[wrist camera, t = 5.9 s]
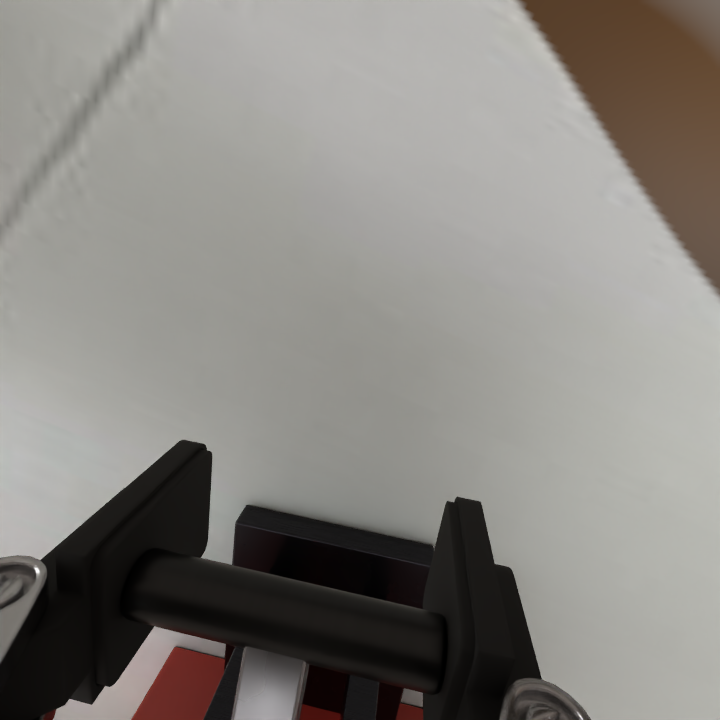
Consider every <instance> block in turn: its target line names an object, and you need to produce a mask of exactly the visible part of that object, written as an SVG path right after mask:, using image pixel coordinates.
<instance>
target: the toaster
mask: <svg viewBox="0 0 720 720" xmlns="http://www.w3.org/2000/svg"><path fill="white" fill-rule="evenodd" d="M224 663H225V659H222V658H219V657H215V656H211V655H207V654H203V653H199V652H195V651H191V650H187V649H183V648H179V647H174V649H173V650H172V652H171V654H170V655H169V657H168V659H167V660H166V662H165V664H164V665H163V667H162V669H161V670H160V672H159V674H158V676H157V677H156V679H155V681H154V682H153V684H152V686H151V687H150V689H149V691H148V692H147V694H146V696H145V698H144V699H143V701H142V703H141V704H140V706H139V708H138V709H137V711H136V713H135V714H134V716H133V718H132V719H131V720H203V718H204V716H205V714H206V712H207V709H208V707H209V705H210V703H211V700H212V698H213V696H214V694H215V691H216V689H217V687H218V685H219V682H220V680H221V678H222V676H223V673H224ZM339 719H340V714H339V713H335V712H331V711H327V710H323V709H319V708H315V707H312V706H308V705H304V704H302V708H301V714H300V719H299V720H339ZM396 720H423V709H422V708H418V707H414V706H410V705H406V704H402V703H400V705H399V709H398V713H397V717H396Z"/></svg>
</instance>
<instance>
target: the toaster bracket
mask: <svg viewBox="0 0 720 720" xmlns="http://www.w3.org/2000/svg"><path fill="white" fill-rule="evenodd" d="M433 554H434V547H433V546H432V545H428V544H423V543H418V542H414V541H409V540H405V539H400V538H396V537H391V536H386V535H382V534H377V533H373V532H368V531H364V530H359V529H355V528H350V527H345V526H341V525H336V524H332V523H327V522H323V521H318V520H314V519H309V518H304V517H300V516H295V515H291V514H286V513H282V512H277V511H273V510H268V509H263V508H259V507H254V506H250V505H246V507H245V508H244V510H243V511H242V513H241V514H240V516H239V518H238V519H237V521H236V523H235V536H234V549H233V561H232V565H233V566H238V567H242V568H246V569H251V570H255V571H259V572H264V573H268V574H272V575H277V576H281V577H285V578H289V579H294V580H298V581H302V582H307V583H311V584H315V585H320V586H324V587H328V588H333V589H337V590H341V591H346V592H350V593H354V594H358V595H363V596H367V597H371V598H376V599H380V600H384V601H389V602H393V603H397V604H402V605H406V606H410V607H414V608H419V609H423V598H424V591H425V586H426V582H427V578H428V574H429V570H430V566H431V562H432V558H433ZM243 651H244V648H240V647H236V646H232V645H228V644H226V651H225V663H224V673H223V676H222V678H221V680H220V682H219V685H218V687H217V689H216V691H215V694H214V696H213V698H212V700H211V703H210V705H209V707H208V709H207V712H206V714H205V716H204V718H203V720H231V717H232V711H233V706H234V700H235V695H236V689H237V684H238V679H239V673H240V668H241V662H242V657H243ZM403 689H404V688H402V687H398V686H394V685H390V684H386V683H382V682H378V681H374V680H370V679H366V678H361V677H357V676H353V675H349V674H345V673H341V672H337V671H333V670H329V669H325V668H321V667H317V666H313V665H309V671H308V676H307V681H306V687H305V692H304V698H303V703H302V704H304V705H308V706H312V707H315V708H319V709H323V710H327V711H331V712H335V713H339V714H340V719H339V720H396V717H397V713H398V709H399V705H400V701H401V697H402V693H403Z"/></svg>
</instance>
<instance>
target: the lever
mask: <svg viewBox="0 0 720 720" xmlns="http://www.w3.org/2000/svg"><path fill="white" fill-rule="evenodd" d="M120 608H121V613H122V615H123V616H124V617H125V618H126V619H128V620H131V621H135V622H140V623H144V624H148V625H152V626H156V627H160V628H164V629H168V630H172V631H176V632H180V633H184V634H188V635H192V636H196V637H200V638H204V639H208V640H212V641H216V642H220V643H224V644H228V645H232V646H236V647H240V648H244V651H243V657H242V662H241V668H240V673H239V679H238V684H237V689H236V695H235V700H234V706H233V711H232V717H231V720H299V719H300V714H301V708H302V703H303V698H304V692H305V687H306V681H307V676H308V671H309V665H313V666H317V667H321V668H325V669H329V670H333V671H337V672H341V673H345V674H349V675H353V676H357V677H361V678H366V679H370V680H374V681H378V682H382V683H386V684H390V685H394V686H398V687H402V688H406V689H410V690H414V691H418V692H422V693H426V694H430V695H435V694H438V692H439V691H440V688H441V686H442V682H443V678H444V673H445V667H446V658H447V625H446V621H445V617H444V616H443V615H441V614H440V613H436V612H432V611H427V610H423V609H419V608H414V607H410V606H406V605H402V604H397V603H393V602H389V601H384V600H380V599H376V598H371V597H367V596H363V595H358V594H354V593H350V592H346V591H341V590H337V589H333V588H328V587H324V586H320V585H315V584H311V583H307V582H302V581H298V580H294V579H289V578H285V577H281V576H277V575H272V574H268V573H264V572H259V571H255V570H251V569H246V568H242V567H238V566H233V565H229V564H225V563H221V562H216V561H212V560H208V559H203V558H199V557H195V556H190V555H186V554H182V553H177V552H173V551H169V550H164V549H160V548H153V549H150V550H148V551H146V552H145V553H144V554H143V555H142V556H141V557H140V558H139V560H138V561H137V562H136V564H135V566H134V567H133V569H132V571H131V573H130V575H129V577H128V579H127V581H126V584H125V587H124V590H123V593H122V597H121V606H120Z"/></svg>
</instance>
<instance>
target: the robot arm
mask: <svg viewBox="0 0 720 720" xmlns="http://www.w3.org/2000/svg"><path fill="white" fill-rule="evenodd" d="M211 472H212V452H210V451H207V448H206V445H205V444H201V443H197V442H192V441H187V440H181V441H179V442H178V443H177V444H176V445H175V446H173V447H172V448H171V449H170V450H169V451H168V452H166V453H165V454H164V455H163V456H162V457H161V458H159V459H158V460H157V461H156V462H155V463H154V464H153V465H151V466H150V467H149V468H148V469H147V470H146V471H144V472H143V473H142V474H141V475H140V476H139V477H137V478H136V479H135V480H134V481H133V482H132V483H130V484H129V485H128V486H127V487H126V488H124V489H123V490H122V491H120V492H119V493H118V494H117V495H116V496H115V497H113V498H112V499H111V500H110V501H109V502H108V503H106V504H105V505H104V506H103V507H102V508H101V509H99V510H98V511H97V512H96V513H95V514H94V515H92V516H91V517H90V518H89V519H88V520H87V521H85V522H84V523H83V524H82V525H81V526H80V527H79V528H77V529H76V530H75V531H74V532H73V533H72V534H70V535H69V536H68V537H67V538H66V539H65V540H63V541H62V542H61V543H60V544H59V545H58V546H56V547H55V548H54V549H53V550H52V551H51V552H49V553H48V554H47V555H46V556H45V557H44V558H42V559H41V560H39V559H36V558H33V557H31V556H18V555H17V556H9V557H2V558H0V720H53V718H54V715H55V712H56V709H57V708H59V707H61V706H64V705H65V704H66V703H67V701H68V700H69V699H73V700H76V701H80V702H84V703H88V704H91V705H92V704H93V703H94V701H95V700H96V698H97V697H98V695H99V694H100V692H101V691H102V690H103V688H104V687H105V686H108V687H110V686H112V685H114V684H115V683H116V681H117V680H118V679H119V677H120V676H121V674H122V673H123V671H124V670H125V668H126V667H127V666H128V664H129V663H130V661H131V660H132V658H133V657H134V655H135V654H136V652H137V651H138V649H139V648H140V646H141V645H142V643H143V642H144V640H145V639H146V638H147V636H148V635H149V633H150V632H151V630H152V629H153V627H154V626H152V625H148V624H144V623H140V622H135V621H131V620H128V619H126V618H125V617H124V616H123V615H122V613H121V608H120V606H121V597H122V593H123V590H124V587H125V584H126V581H127V579H128V577H129V575H130V573H131V571H132V569H133V567H134V566H135V564H136V562H137V561H138V560H139V558H140V557H141V556H142V555H143V554H144V553H145V552H146V551H148V550H150V549H153V548H160V549H164V550H169V551H173V552H177V553H182V554H186V555H190V556H195V557H199V558H201V557H202V555H203V553H204V551H205V549H206V546H207V542H208V529H209V510H210V491H211ZM423 610H427V611H432V612H436V613H440V614H441V615H443V616H444V617H445V621H446V625H447V658H446V667H445V673H444V678H443V682H442V686H441V688H440V691H439V692H438V694H435V695H430V694H426V693H423V720H591V719H590V717H589V716H588V715H587V713H586V712H585V710H584V709H583V708H582V707H581V706H580V705H579V704H578V703H577V702H576V701H575V700H574V699H573V698H572V697H571V696H570V695H569V694H568V693H566V692H565V691H563V690H562V689H560V688H559V687H557V686H556V685H554V684H551V683H549V682H546V681H544V680H542V678H541V675H540V671H539V667H538V663H537V660H536V656H535V652H534V648H533V645H532V641H531V637H530V634H529V630H528V626H527V622H526V619H525V615H524V611H523V608H522V604H521V600H520V596H519V593H518V589H517V585H516V581H515V578H514V574H513V572H512V570H511V569H510V568H509V567H506V566H501V565H496V564H494V559H493V554H492V550H491V545H490V541H489V536H488V532H487V527H486V523H485V518H484V513H483V509H482V505H481V502H479V501H475V500H470V499H465V498H460V497H456V499H455V502H449V501H447V502H446V505H445V509H444V513H443V517H442V521H441V525H440V529H439V533H438V538H437V542H436V546H435V550H434V554H433V558H432V562H431V566H430V570H429V574H428V578H427V582H426V586H425V591H424V598H423Z"/></svg>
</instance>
